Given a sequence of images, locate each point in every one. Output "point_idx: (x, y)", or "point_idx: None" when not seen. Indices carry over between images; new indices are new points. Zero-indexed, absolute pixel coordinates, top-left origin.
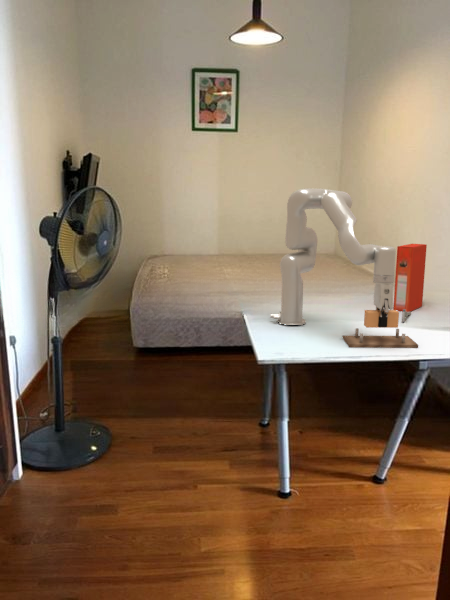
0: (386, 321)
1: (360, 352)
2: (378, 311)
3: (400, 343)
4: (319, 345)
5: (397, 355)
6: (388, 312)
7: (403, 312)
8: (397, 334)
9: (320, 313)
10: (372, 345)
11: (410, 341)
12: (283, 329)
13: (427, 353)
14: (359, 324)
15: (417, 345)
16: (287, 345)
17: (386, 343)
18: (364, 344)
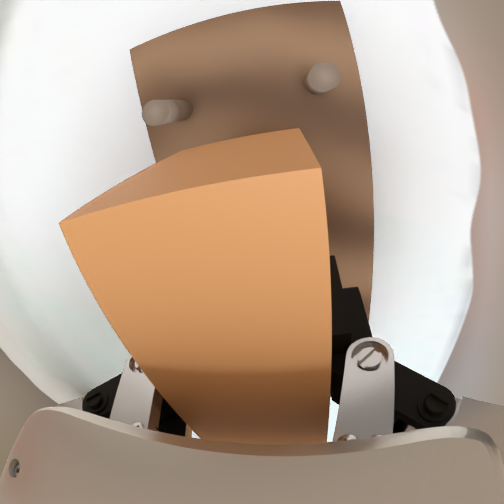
0: (341, 297)
1: (425, 316)
2: (276, 441)
3: (334, 104)
4: (332, 405)
5: (479, 170)
6: (329, 381)
7: None
8: (183, 110)
9: (20, 340)
10: (371, 275)
11: (264, 29)
12: (192, 434)
13: (427, 3)
14: (28, 270)
15: (341, 7)
16: (331, 438)
17: (348, 199)
18: (369, 312)
